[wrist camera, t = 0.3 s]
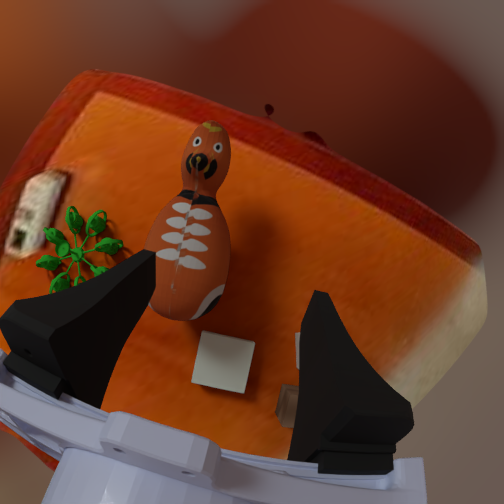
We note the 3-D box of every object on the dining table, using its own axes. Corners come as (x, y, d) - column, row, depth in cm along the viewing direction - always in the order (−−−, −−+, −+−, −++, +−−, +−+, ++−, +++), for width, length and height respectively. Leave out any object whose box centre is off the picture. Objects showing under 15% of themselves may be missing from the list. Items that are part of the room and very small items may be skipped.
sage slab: (242, 388, 41) (244, 393, 38) (193, 377, 41) (191, 382, 38) (253, 340, 42) (255, 343, 39) (203, 330, 42) (201, 331, 39)
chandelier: (77, 193, 44) (58, 176, 37) (146, 240, 44) (133, 228, 37) (31, 271, 41) (6, 265, 34) (95, 326, 41) (74, 328, 34)
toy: (248, 170, 46) (258, 113, 32) (219, 324, 42) (215, 332, 27) (184, 159, 46) (170, 101, 31) (149, 310, 42) (112, 309, 27)
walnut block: (304, 416, 40) (315, 430, 34) (275, 412, 40) (282, 426, 34) (312, 388, 41) (324, 398, 35) (282, 383, 41) (290, 394, 35)
